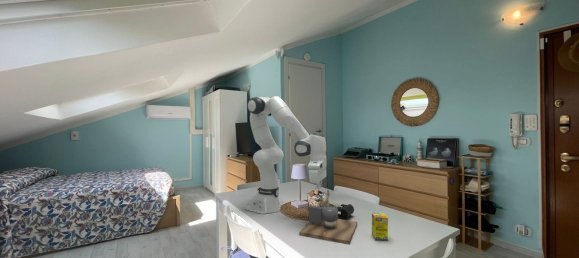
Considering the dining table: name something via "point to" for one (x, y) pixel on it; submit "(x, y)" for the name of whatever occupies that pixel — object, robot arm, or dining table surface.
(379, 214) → the supplement box
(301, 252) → the dining table surface
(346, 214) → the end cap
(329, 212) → the coupling
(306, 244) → the dining table surface
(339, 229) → the mount plate
